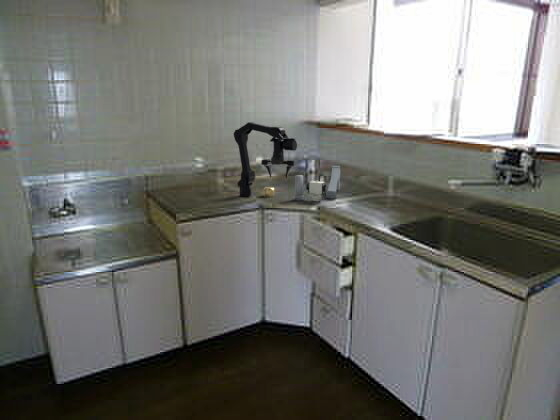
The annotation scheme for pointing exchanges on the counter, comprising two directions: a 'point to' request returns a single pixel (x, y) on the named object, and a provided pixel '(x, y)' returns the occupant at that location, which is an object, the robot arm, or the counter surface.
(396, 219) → the counter surface
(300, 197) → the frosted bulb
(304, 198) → the dark grey metal disc
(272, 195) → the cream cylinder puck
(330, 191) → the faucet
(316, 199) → the pneumatic valve
